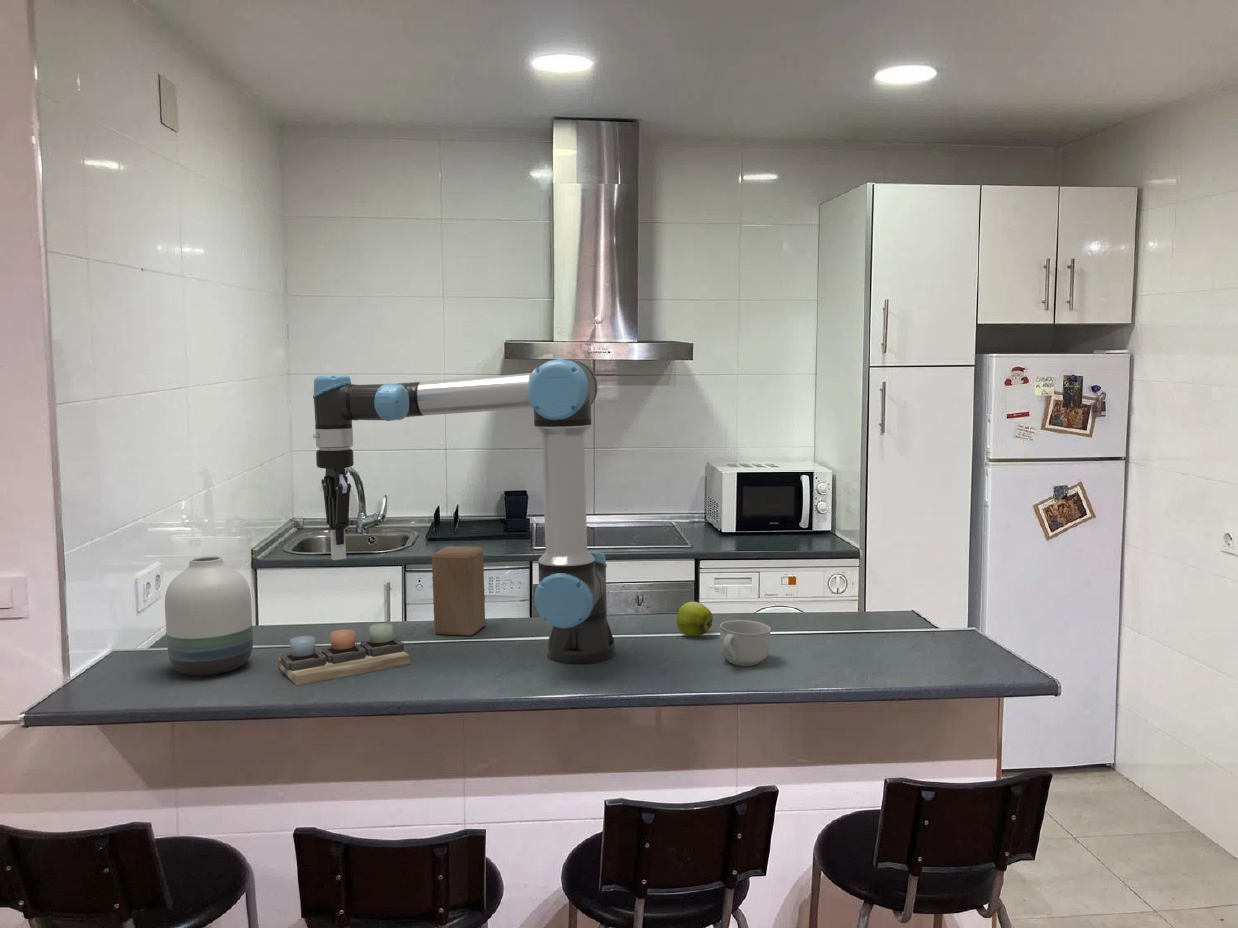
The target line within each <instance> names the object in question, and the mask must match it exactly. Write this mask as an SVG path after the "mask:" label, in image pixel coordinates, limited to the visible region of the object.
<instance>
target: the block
mask: <svg viewBox="0 0 1238 928" xmlns="http://www.w3.org/2000/svg"><path fill="white" fill-rule="evenodd" d="M431 568H432V569H431V570H432V571H431V572H432V573H431V574H432V593H433V594H432V596H433V597H432V598H433V623H434V624H433V627H434V628H433V631H434V633H435V635H436V634H437V635H445V636H447V635H448V636H466V637H468V636H473V635H475V634H476V633H477V632H478V631H480V630H481V629H482V628H483V627H485V625H486V606H485V605H486V602H485V570H484V550H483V548H482V547H480V546H456V545H455V546H452V545H451V546H450V545H449V546H445V547H443V548H442V549H441V548H440V550H438V551H435V552H433V553H432V555H431Z"/></svg>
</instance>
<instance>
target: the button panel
mask: <svg viewBox="0 0 1238 928" xmlns="http://www.w3.org/2000/svg"><path fill="white" fill-rule="evenodd" d="M408 665H411V657H410V654H408V653H407V652H405V643H404V642H403V641H401V640H400V639H399V638H397V637H393V640H392V641H389V642H384V643H373V642H371V641H370V639H368V640H363V641H360V643H355V646H354V647H352V648H349V649H341V650H338V649H332V648H331V646H327V647H322V648H321V650H316V652H315V653H314V654H312V655H308V656H292V655H291V652H290V653H285V654H282V655H281V656H279V657H278V658H277V667H278V669H279V670H281V671H282V673H283V674H285V676H286V677H287V678H288V679H290V681H291V682H293V683H294V685H295V686H302V685H306V684H307V685H308V684H311V683H318V682H323V681H327V680H328V681H329V680H333V679H339V678H343V677H344V678H345V677H349V676H355V675H359V674H365V673H370V672H376V671H381V670H387V669H392V668H393V669H394V668H397V667H402V666H408Z"/></svg>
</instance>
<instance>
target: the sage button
mask: <svg viewBox="0 0 1238 928" xmlns="http://www.w3.org/2000/svg"><path fill="white" fill-rule="evenodd" d="M393 638H394V625H393V624H392V623H389V622H388V623H387V622H386V623H384V622H382V623H375V624H371V625H369V640H370V641H371V642H373V643H384V642H389V641H392V640H393Z"/></svg>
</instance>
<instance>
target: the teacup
mask: <svg viewBox="0 0 1238 928" xmlns="http://www.w3.org/2000/svg"><path fill="white" fill-rule="evenodd" d="M719 627H720V628H719V630H720V631H719V649H720V653H721V655H722V656H723V657H724V658H725V659H726V660H727V661H728V662H729V663H731V664H732V665H736V666H740V667H741V666H744V667H750V666H757V665H759V664H760V663H761V662H762V661H764V660H765V659H766V658H767V656H768V654H769V650H770V639H771V631H772V627H770V626H769V625H768V624H766V623H762V622H759V621H754V620H747V619H746V620H745V619H731V620H725V621H722V622H721V623H720V624H719Z"/></svg>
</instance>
